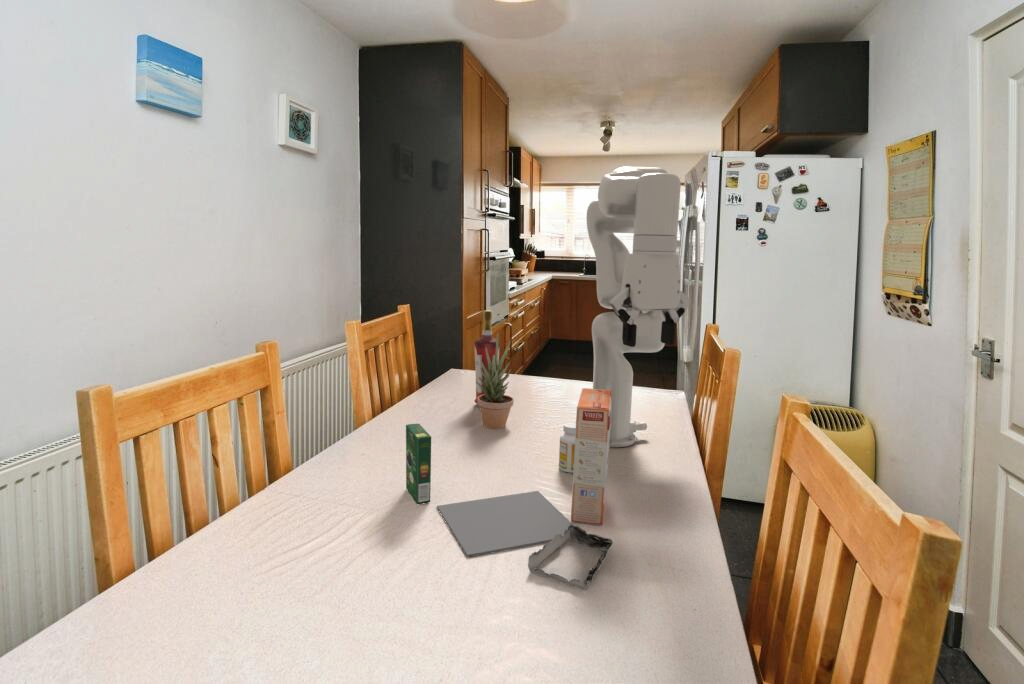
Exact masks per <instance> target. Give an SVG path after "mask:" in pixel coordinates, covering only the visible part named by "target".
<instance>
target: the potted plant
mask: <svg viewBox="0 0 1024 684" xmlns="http://www.w3.org/2000/svg"><path fill="white" fill-rule="evenodd" d="M498 341H499V332H497V334H496V353H495V360H494V356H493V359H492V363H491V361H490V357H489V354H488V351H487V348H486V356H487V361H488V367H489V372H488V371H487V370H486V368H485V366H484V364H483V362H482V367H483V369H484V371H483V370H482V369H481V367H480V370H481V372H482V374H483V376H484V378H485V379H484V381H485V382H483V381H482V380H481V378H480V377H479V379H480V381H481V382H482V383H483V384H484V386H485V388H484V387H483V386H482V385H480V384H479V383H478V382H476V381H475V384H476V383H477V384H478V385H479V386H480V387H481V388H482V389H483V390H482V389H481V390H482V391H483V392H484V393H485V394H484V395H480V396H479V397H478V398H477V404H478V405H479V406H478V405H477V404H476V405H477V406H478V407H479V411H480V414H481V419H482V423H483V427H485V428H487V427H488V429H501V428H502V429H503V428H505V426H506V424H507V423H508V418H509V416H510V412H511V409H512V407H513V406H514V400H515V399H514V397H513V396H510V395H507V394H506V390H507V389H508V385H509V383H510V381H507V383H505V384H504V382H505V381H506V380H507V379H508V378H509V377H510V372H511V370H512V369H511V368H510V369H509V370H508V368H509V365H510V361H509V362H508V363H507V364H506V365H505V367H504V368H503V369H502V366H503V364H504V361H505V359H506V357H507V355H508V351H509V348H510V345H511V340H509V342H508V344H507V346H506V347H505V350H504V352H503V353H502V356H501V358H500V359H499V362H498ZM497 362H498V365H497ZM507 370H508V372H506V371H507ZM484 372H485V373H484ZM504 375H505V376H504ZM503 376H504V377H503ZM484 390H485V391H486V392H485V391H484Z"/></svg>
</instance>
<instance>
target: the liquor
mask: <svg viewBox="0 0 1024 684" xmlns="http://www.w3.org/2000/svg"><path fill="white" fill-rule="evenodd" d="M482 319H483V325H482V333H481V337H480V338H477V339H476V340H475V341H474V368H475V369H474V370H475V399H474V403H475V404H476V405H477V406H478V407H479V405H478V404H477V398H478V397H479V396H480V395H484V394H485V393H484V392H483V391H482V390H483V389H482V388H481V387H480V386H479V385H478V384H477V383H476V382H478V383H479V384H480V385H482V386H483V387H484V388H485V386H484V384H483V383H482V382H481V381H480V379H479V377H480V378H481V380H482V381H483V382H485V381H484V379H485V378H484V376H483V374H482V372H481V370H480V367H481V369H482V370H483V371H484V369H483V367H482V362H483V364H484V366H485V368H486V370H487V371H488V372H489V367H488V361H487V356H486V348H487V351H488V354H489V357H490V361H491V363H492V359H493V356H494V360H495V353H496V340H497V338H494V337H493V330H492V329H493V327H492V319H493V310H488V309H487V310H482ZM500 343H501V342H500V341H499V340H498V362H497V365H498V364H499V362H500V358H499V357H500ZM484 373H485V372H484ZM481 389H482V390H481ZM484 391H485V390H484ZM485 392H486V391H485Z"/></svg>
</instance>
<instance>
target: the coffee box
mask: <svg viewBox="0 0 1024 684" xmlns="http://www.w3.org/2000/svg"><path fill="white" fill-rule="evenodd" d="M405 457H406V458H405V462H406V464H405V477H406V478H405V482H406V483H405V485H406V487H405V488H406V490H407V492H408V494H409V495H410V496H411V497H412V499H413V501H414V503H415V504H416V505H417V504H419V505H423V503H425V504H429V503H428V502H430V503H431V492H432V491H431V489H432V487H431V483H432V482H431V479H432V478H431V475H432V472H431V471H432V435H430V433H429V432H428V431H427V430H426V429H425V428H424V427H423V426H422V425H421V424H420V423H408V424H406V425H405Z"/></svg>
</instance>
